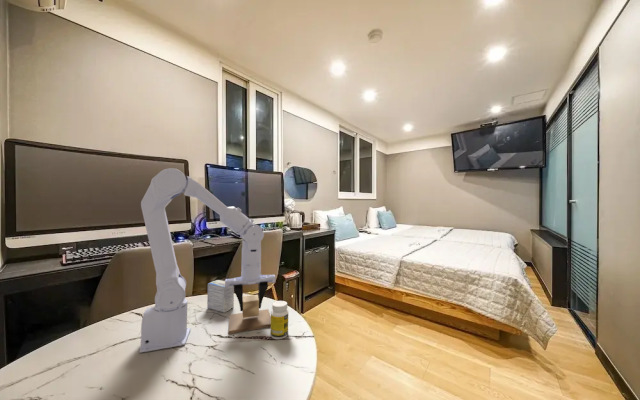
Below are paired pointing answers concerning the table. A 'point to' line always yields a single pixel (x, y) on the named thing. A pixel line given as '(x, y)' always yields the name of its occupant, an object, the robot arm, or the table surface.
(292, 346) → the table surface
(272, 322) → the supplement bottle
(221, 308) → the medicine box
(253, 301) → the oak cube
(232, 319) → the walnut board
